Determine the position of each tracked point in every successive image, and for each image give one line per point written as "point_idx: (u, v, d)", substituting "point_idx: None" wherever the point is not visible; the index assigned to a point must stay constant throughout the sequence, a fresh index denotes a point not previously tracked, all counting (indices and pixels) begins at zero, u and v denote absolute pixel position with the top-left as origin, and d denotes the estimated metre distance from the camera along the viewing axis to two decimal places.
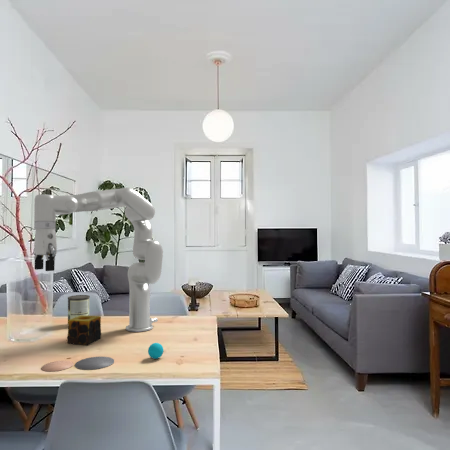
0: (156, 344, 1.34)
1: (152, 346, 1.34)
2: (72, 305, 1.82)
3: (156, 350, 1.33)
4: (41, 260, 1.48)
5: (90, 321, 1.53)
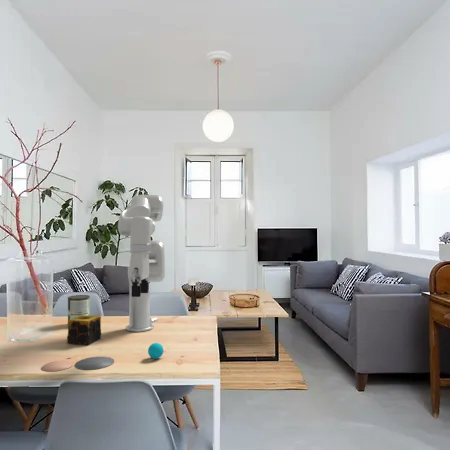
0: (156, 344, 1.34)
1: (152, 346, 1.34)
2: (72, 305, 1.82)
3: (156, 350, 1.33)
4: None
5: (90, 321, 1.53)
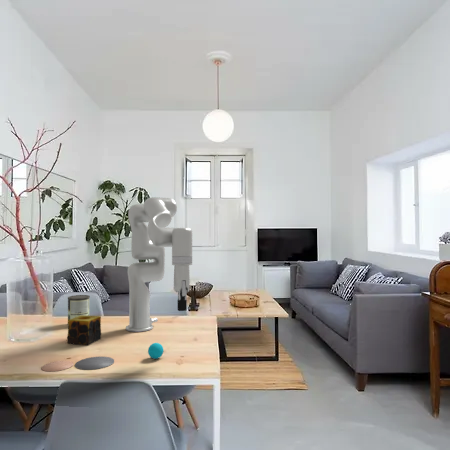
0: (156, 344, 1.34)
1: (152, 346, 1.34)
2: (72, 305, 1.82)
3: (156, 350, 1.33)
4: None
5: (90, 321, 1.53)
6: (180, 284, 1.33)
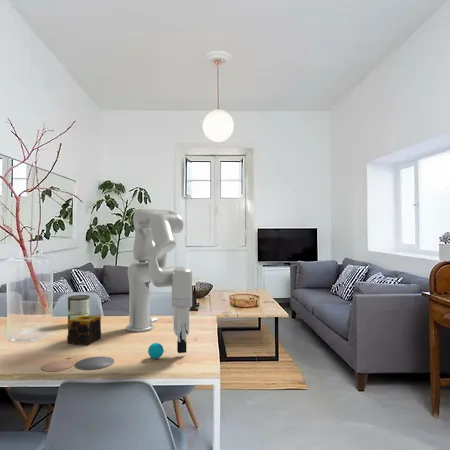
0: (156, 344, 1.34)
1: (152, 346, 1.34)
2: (72, 305, 1.82)
3: (156, 350, 1.33)
4: None
5: (90, 321, 1.53)
6: (180, 327, 1.32)
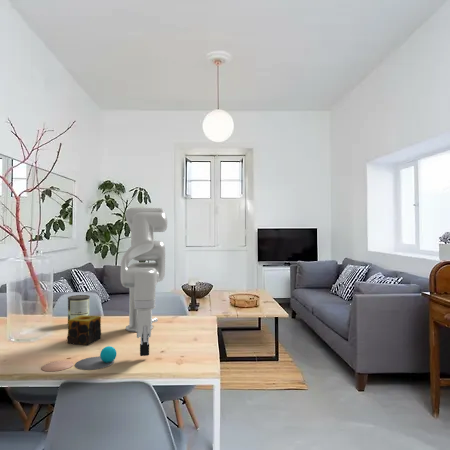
0: (112, 350, 1.30)
1: (108, 349, 1.30)
2: (72, 305, 1.82)
3: (108, 354, 1.28)
4: None
5: (90, 321, 1.53)
6: (141, 330, 1.29)
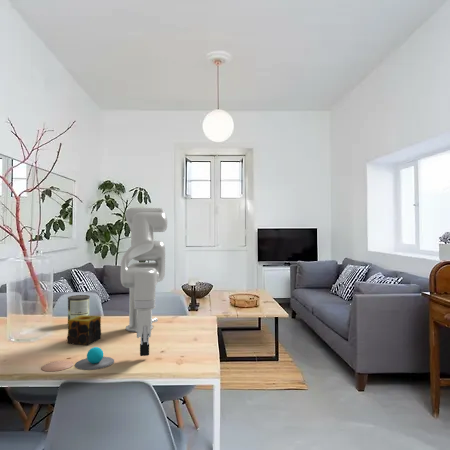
0: (89, 352, 1.28)
1: (87, 357, 1.28)
2: (72, 305, 1.82)
3: (92, 357, 1.27)
4: None
5: (90, 321, 1.53)
6: (141, 330, 1.29)
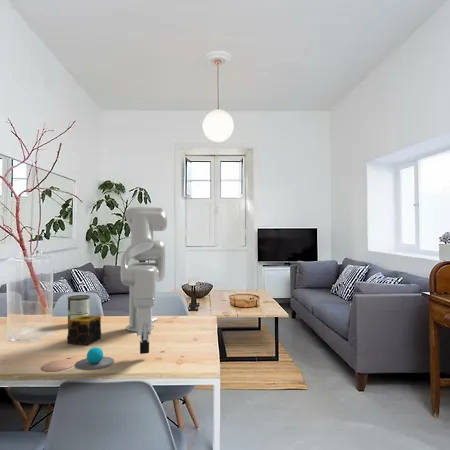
0: (89, 352, 1.28)
1: (87, 357, 1.28)
2: (72, 305, 1.82)
3: (92, 357, 1.27)
4: None
5: (90, 321, 1.53)
6: (141, 328, 1.29)
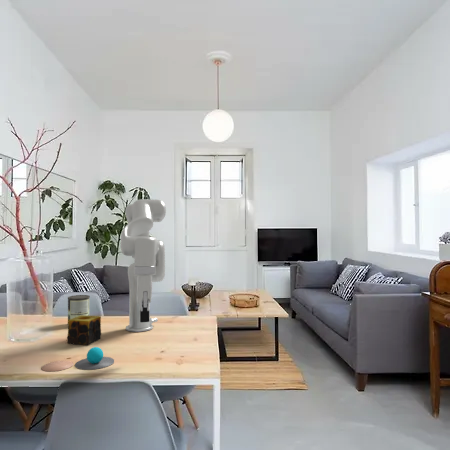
0: (89, 352, 1.28)
1: (87, 357, 1.28)
2: (72, 305, 1.82)
3: (92, 357, 1.27)
4: None
5: (90, 321, 1.53)
6: (141, 295, 1.29)
